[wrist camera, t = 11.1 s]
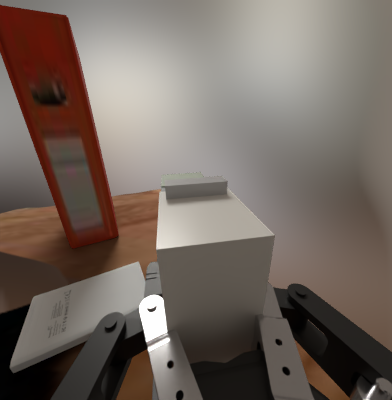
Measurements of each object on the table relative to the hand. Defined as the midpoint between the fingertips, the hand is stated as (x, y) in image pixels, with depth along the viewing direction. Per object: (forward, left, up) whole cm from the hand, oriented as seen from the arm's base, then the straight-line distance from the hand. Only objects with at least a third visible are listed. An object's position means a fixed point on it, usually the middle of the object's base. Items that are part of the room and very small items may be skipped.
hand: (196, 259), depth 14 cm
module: (0, -3, -6) cm, 7 cm away
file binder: (-18, +28, -10) cm, 35 cm away
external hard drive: (-12, +6, -11) cm, 17 cm away
